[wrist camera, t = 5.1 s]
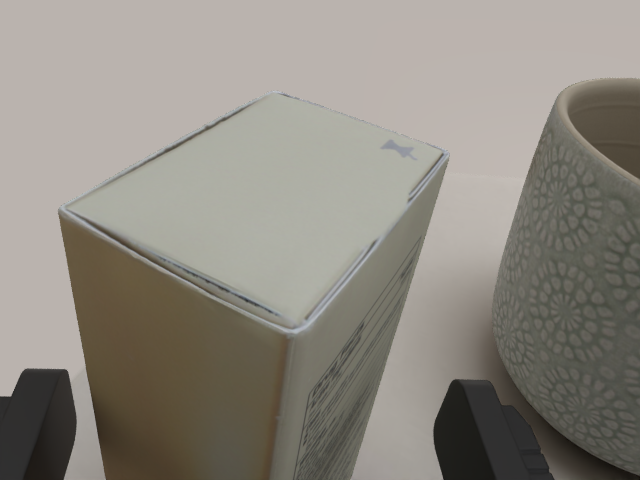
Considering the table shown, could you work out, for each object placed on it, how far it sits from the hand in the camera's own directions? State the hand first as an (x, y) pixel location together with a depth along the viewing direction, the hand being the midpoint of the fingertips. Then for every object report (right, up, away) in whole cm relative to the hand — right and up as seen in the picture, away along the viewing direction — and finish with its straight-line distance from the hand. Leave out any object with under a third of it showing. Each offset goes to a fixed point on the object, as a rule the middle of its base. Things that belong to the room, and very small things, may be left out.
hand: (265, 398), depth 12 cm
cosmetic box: (-1, -5, +5) cm, 7 cm away
